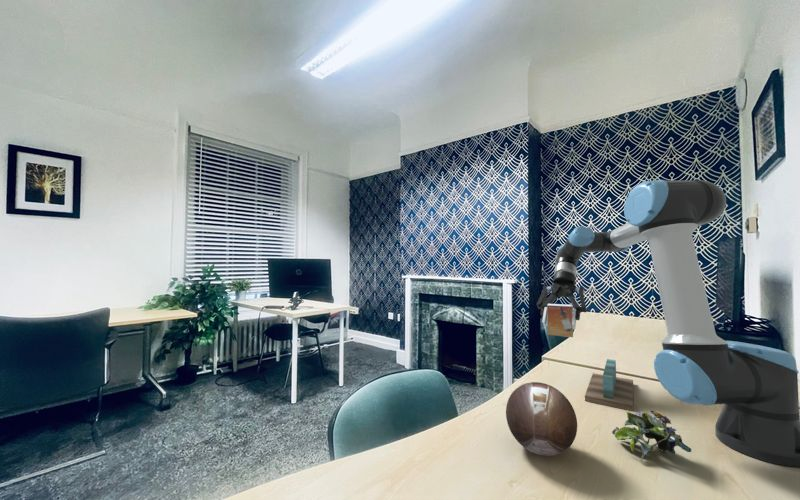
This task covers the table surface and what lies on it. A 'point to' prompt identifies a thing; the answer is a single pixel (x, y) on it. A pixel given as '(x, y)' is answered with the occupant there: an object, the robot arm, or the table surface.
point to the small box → (559, 320)
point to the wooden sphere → (541, 419)
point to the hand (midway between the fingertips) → (558, 325)
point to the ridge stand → (610, 388)
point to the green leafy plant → (650, 432)
